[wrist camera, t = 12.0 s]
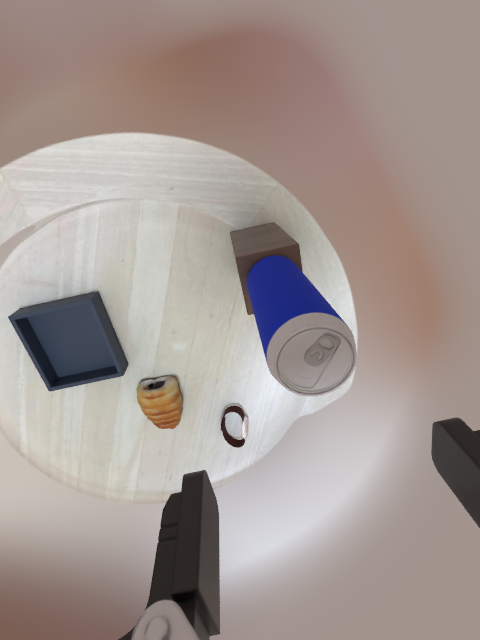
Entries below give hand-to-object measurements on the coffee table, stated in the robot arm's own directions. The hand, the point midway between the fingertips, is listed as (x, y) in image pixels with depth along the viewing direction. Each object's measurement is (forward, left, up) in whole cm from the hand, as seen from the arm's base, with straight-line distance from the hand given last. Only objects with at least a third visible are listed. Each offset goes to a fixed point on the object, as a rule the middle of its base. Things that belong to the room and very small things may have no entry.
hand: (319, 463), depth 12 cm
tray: (+8, -26, -36) cm, 45 cm away
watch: (+29, -7, -36) cm, 47 cm away
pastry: (+21, -17, -36) cm, 45 cm away
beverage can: (+1, +2, -22) cm, 22 cm away
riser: (+1, +2, -36) cm, 36 cm away
